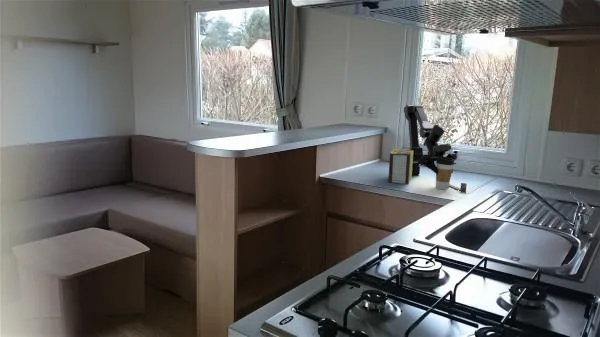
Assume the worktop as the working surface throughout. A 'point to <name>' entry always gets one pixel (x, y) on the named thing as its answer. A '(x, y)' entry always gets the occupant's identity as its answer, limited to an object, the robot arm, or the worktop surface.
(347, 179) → the worktop surface
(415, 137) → the robot arm
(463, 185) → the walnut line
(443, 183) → the coffee cup
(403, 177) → the protein box
